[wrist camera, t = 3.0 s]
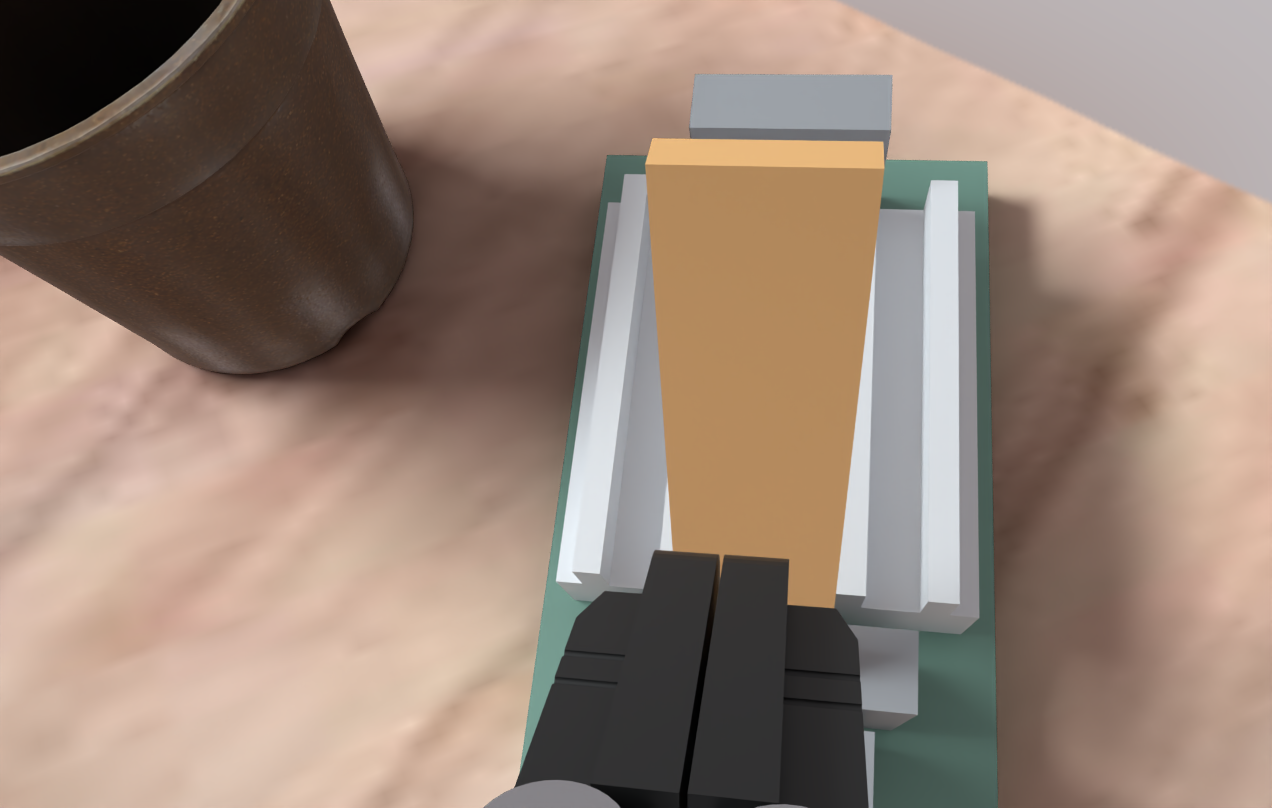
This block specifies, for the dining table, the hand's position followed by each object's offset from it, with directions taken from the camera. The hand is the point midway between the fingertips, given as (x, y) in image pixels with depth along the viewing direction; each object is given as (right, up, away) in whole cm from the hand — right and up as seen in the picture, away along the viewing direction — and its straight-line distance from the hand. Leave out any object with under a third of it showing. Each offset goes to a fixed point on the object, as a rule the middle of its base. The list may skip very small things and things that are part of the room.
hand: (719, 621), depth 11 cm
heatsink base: (+4, 0, +24) cm, 24 cm away
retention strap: (+2, +1, +10) cm, 10 cm away
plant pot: (-16, +9, +30) cm, 35 cm away
